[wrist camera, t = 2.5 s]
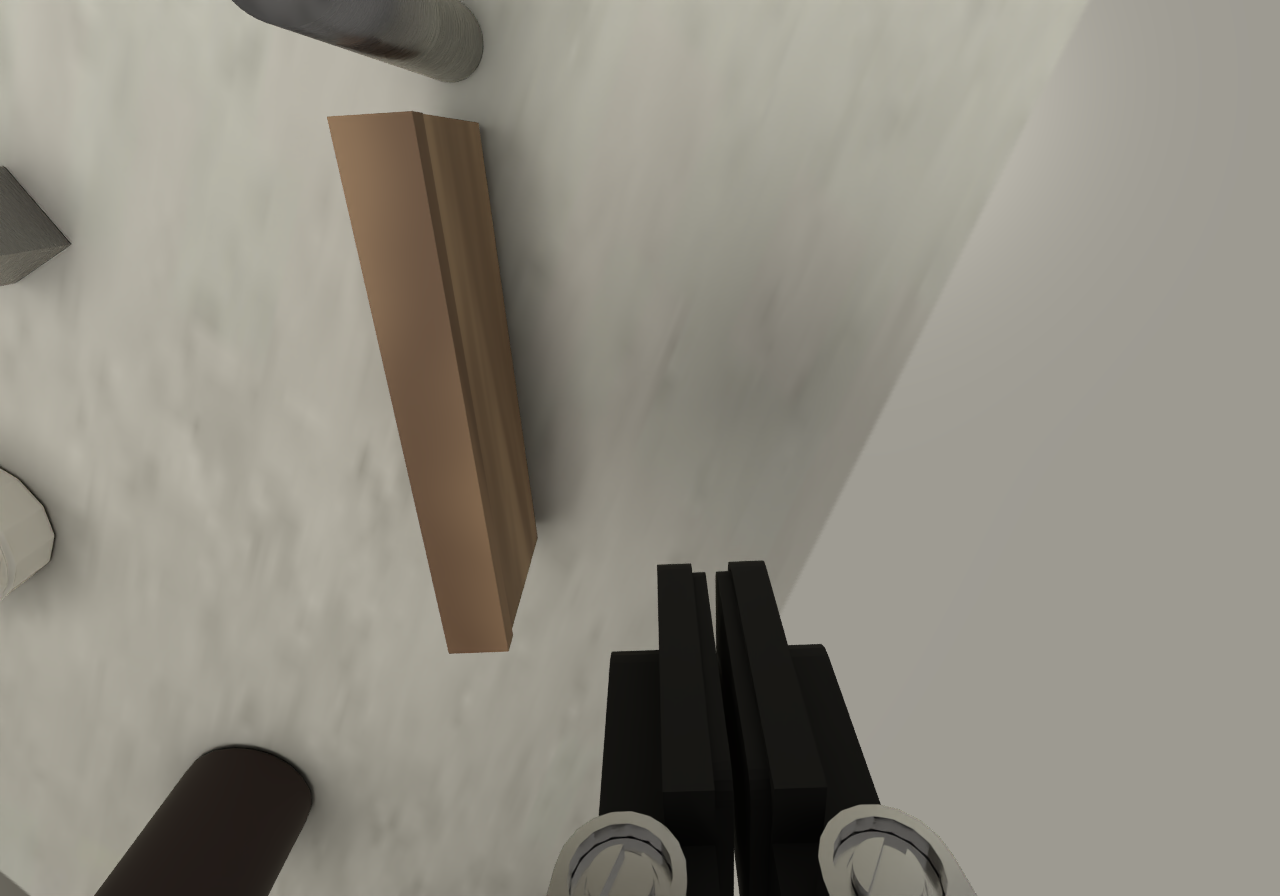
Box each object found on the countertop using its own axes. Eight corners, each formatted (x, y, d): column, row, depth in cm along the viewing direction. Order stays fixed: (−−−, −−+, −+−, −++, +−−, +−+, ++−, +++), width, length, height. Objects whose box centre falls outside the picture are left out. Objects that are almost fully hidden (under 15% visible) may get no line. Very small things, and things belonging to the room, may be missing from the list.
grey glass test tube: (496, 57, 22) (368, -22, 12) (437, 96, 22) (264, 53, 12) (455, -20, 21) (276, -177, 11) (394, 23, 21) (169, -90, 11)
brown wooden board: (481, 122, 22) (411, 111, 15) (539, 537, 28) (508, 651, 22) (421, 126, 22) (327, 117, 15) (493, 539, 28) (449, 653, 22)
